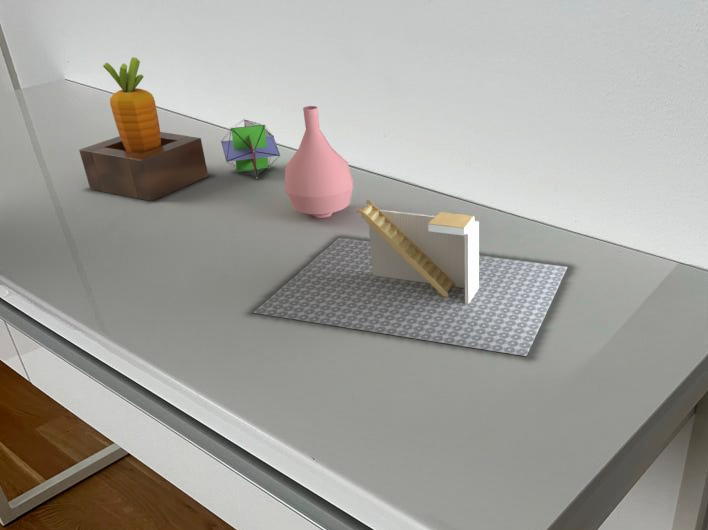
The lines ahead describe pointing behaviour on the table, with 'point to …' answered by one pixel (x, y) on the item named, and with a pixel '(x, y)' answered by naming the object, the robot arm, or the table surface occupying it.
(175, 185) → the hole block
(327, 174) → the pink vase
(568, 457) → the table surface
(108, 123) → the table surface
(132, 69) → the carrot
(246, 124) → the geometric puzzle
